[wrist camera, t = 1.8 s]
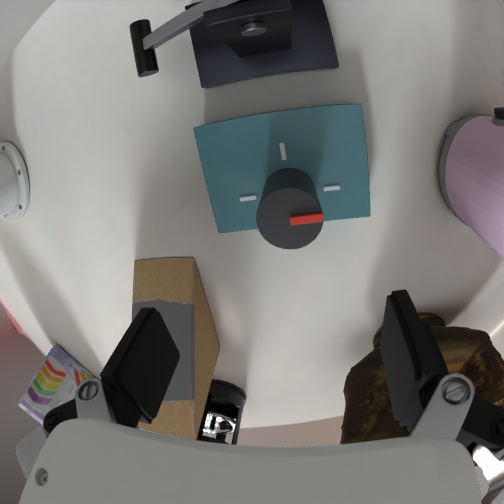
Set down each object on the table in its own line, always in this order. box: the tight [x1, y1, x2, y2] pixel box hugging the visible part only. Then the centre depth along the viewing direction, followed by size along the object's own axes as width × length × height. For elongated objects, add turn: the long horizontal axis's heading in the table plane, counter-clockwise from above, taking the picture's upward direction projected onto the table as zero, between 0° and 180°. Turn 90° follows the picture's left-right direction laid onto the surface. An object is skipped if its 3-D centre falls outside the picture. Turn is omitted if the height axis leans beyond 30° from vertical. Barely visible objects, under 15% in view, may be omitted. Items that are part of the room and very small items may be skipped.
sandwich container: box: [132, 257, 220, 440], centre depth 29 cm, size 9×15×15 cm, turn 8°
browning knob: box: [256, 168, 323, 249], centre depth 21 cm, size 4×4×6 cm
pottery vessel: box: [340, 313, 504, 444], centre depth 25 cm, size 25×11×20 cm, turn 109°
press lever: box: [130, 0, 252, 77], centre depth 13 cm, size 12×5×2 cm, turn 101°
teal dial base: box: [193, 104, 370, 233], centre depth 24 cm, size 14×11×3 cm
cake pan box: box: [18, 345, 99, 425], centre depth 43 cm, size 19×5×18 cm, turn 39°
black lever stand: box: [185, 0, 339, 88], centre depth 14 cm, size 12×9×12 cm
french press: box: [195, 380, 246, 445], centre depth 35 cm, size 12×9×23 cm
